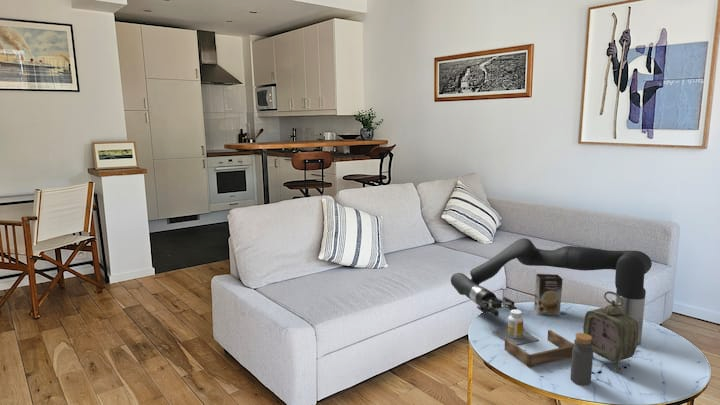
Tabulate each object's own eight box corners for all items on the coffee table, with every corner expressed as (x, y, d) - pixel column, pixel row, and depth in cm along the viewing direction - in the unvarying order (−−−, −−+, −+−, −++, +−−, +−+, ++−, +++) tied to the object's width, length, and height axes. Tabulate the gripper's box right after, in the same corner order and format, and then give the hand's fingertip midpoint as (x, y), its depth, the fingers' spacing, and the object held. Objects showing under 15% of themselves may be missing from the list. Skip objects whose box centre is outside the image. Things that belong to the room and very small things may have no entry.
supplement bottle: (522, 333, 178) (523, 309, 176) (522, 339, 173) (523, 315, 171) (507, 331, 180) (508, 307, 178) (507, 337, 175) (508, 313, 173)
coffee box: (537, 315, 194) (539, 278, 191) (533, 309, 200) (535, 273, 198) (560, 315, 193) (562, 279, 190) (555, 309, 200) (557, 273, 197)
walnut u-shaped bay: (504, 349, 166) (504, 339, 166) (549, 339, 173) (550, 329, 172) (528, 367, 154) (529, 356, 154) (576, 356, 161) (577, 345, 160)
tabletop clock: (581, 355, 161) (586, 287, 157) (599, 350, 165) (605, 283, 160) (618, 376, 148) (625, 302, 144) (638, 369, 152) (645, 297, 147)
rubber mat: (492, 332, 180) (492, 331, 180) (518, 327, 184) (518, 326, 184) (512, 346, 169) (512, 345, 169) (538, 340, 173) (539, 339, 173)
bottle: (566, 375, 149) (569, 332, 146) (584, 374, 150) (587, 331, 147) (576, 386, 143) (579, 341, 141) (594, 385, 144) (598, 340, 141)
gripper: (468, 290, 191) (492, 305, 176) (497, 286, 196) (522, 300, 181) (467, 308, 193) (491, 324, 178) (496, 302, 197) (521, 318, 182)
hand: (507, 312), depth 179 cm, fingers open, 8 cm apart
